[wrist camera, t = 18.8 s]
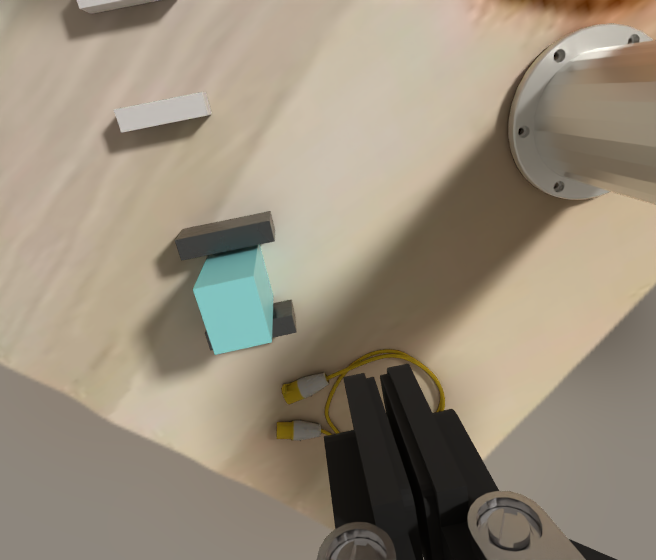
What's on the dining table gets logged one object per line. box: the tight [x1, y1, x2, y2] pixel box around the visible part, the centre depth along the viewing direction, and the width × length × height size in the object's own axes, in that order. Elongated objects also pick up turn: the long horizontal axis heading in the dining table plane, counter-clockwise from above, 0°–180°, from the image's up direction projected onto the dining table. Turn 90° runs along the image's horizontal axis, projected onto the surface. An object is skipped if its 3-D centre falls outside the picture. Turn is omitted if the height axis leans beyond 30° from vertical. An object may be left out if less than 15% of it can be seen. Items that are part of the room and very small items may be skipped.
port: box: [175, 211, 296, 350], centre depth 37 cm, size 7×9×3 cm
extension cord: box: [277, 349, 445, 441], centre depth 44 cm, size 12×16×2 cm
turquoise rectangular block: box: [193, 244, 273, 355], centre depth 35 cm, size 4×5×8 cm
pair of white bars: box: [77, 0, 212, 133], centre depth 31 cm, size 6×9×2 cm, turn 11°
